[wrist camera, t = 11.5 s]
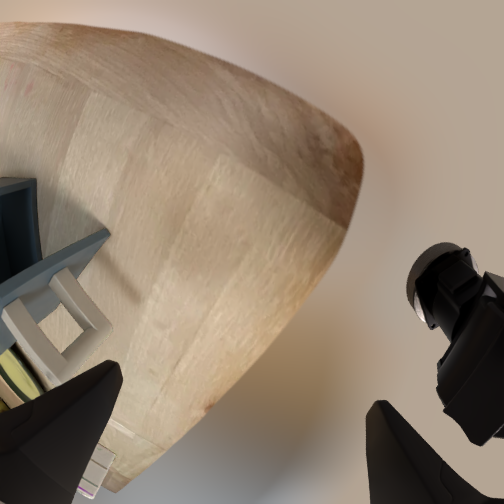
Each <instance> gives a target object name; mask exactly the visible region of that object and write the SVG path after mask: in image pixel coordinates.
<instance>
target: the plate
mask: <svg viewBox="0 0 504 504" xmlns="http://www.w3.org/2000/svg"><path fill="white" fill-rule="evenodd" d="M0 375H1V376H2V377H3V379H4V380H5V381H6V383H7V384H8V385H9V387H10V388H11V389H12V390H13V391H14V392H15V393H16V394H17V396H18V397H19V398H20V399H21V400H22V401H24V402H25V403H26V402H28V401H30V400H32V399H35V398H36V397H38V396H40V395H42V394H44V393H45V392H44V391H43V389H42V388H41V386H40V385H39V383H38V382H37V380H36V379H35V377H34V376H33V375H32V373H31V372H30V370H29V369H28V368H27V366H26V365H25V364H24V362H23V361H22V360H21V358H20V357H19V356H18V355H17V353H16V352H15V351H14V350H13V348H12V347H9V348H8V349H7V350H6V351H5V352H4V353H3V354H1V355H0Z"/></svg>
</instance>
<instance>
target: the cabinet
mask: <svg viewBox="0 0 504 504" xmlns="http://www.w3.org/2000/svg"><path fill="white" fill-rule="evenodd" d="M41 260H42V255H41V247H40V239H39V229H38V217H37V199H36V179H34V178H9V177H2V178H0V284H2V283H3V282H5V281H7V280H8V279H10V278H12V277H13V276H15V275H17V274H18V273H20V272H22V271H23V270H25V269H27V268H29V267H30V266H32V265H34V264H36V263H38V262H39V261H41Z"/></svg>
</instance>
